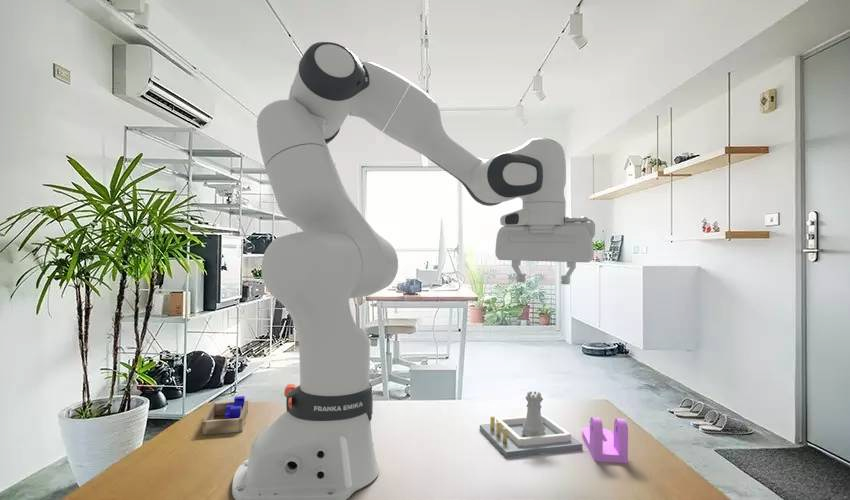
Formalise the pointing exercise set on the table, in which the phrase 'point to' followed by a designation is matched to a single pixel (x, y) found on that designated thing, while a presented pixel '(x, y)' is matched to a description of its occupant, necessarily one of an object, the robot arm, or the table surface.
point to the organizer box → (223, 420)
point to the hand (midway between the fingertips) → (542, 283)
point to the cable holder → (235, 408)
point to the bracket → (607, 441)
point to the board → (515, 444)
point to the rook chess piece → (533, 416)
